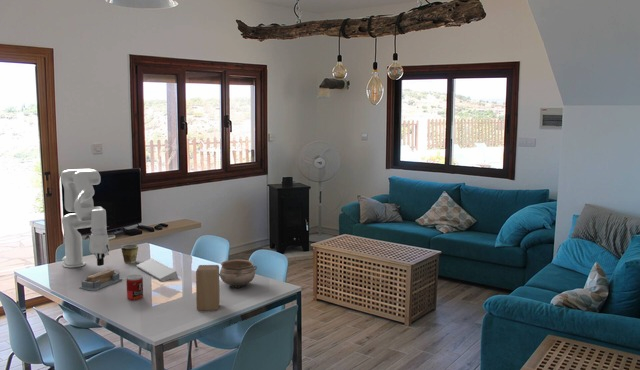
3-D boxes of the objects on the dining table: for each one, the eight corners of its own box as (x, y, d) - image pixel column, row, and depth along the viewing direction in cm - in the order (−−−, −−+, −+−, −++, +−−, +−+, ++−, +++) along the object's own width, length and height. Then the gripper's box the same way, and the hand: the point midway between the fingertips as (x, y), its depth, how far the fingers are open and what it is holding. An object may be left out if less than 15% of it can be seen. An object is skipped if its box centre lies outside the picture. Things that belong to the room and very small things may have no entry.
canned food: (134, 301, 276) (133, 280, 275) (123, 298, 280) (122, 277, 279) (146, 297, 282) (146, 276, 281) (135, 294, 287) (135, 273, 285)
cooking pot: (247, 277, 319) (247, 256, 317) (266, 285, 305) (266, 263, 303) (208, 285, 303) (208, 263, 301) (226, 294, 288) (226, 271, 287)
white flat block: (162, 286, 310) (178, 278, 316) (159, 278, 309) (176, 271, 314) (138, 272, 336) (153, 265, 342) (136, 265, 335) (151, 258, 340)
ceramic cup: (141, 262, 347) (141, 246, 346) (126, 265, 340) (126, 249, 339) (131, 258, 356) (130, 242, 355) (116, 261, 349) (115, 245, 348)
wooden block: (199, 304, 274) (198, 264, 271) (219, 303, 274) (219, 264, 272) (196, 311, 264) (195, 270, 261) (217, 311, 265) (217, 270, 262)
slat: (87, 286, 297) (86, 276, 296) (108, 277, 311) (108, 269, 311) (93, 286, 295) (92, 277, 294) (114, 278, 310) (114, 270, 309)
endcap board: (79, 288, 295) (78, 281, 295) (107, 277, 315) (107, 270, 314) (93, 290, 292) (93, 283, 291) (122, 279, 311) (121, 273, 311)
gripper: (83, 231, 299) (84, 265, 301) (105, 234, 293) (106, 268, 295) (93, 229, 306) (94, 262, 308) (115, 231, 300) (116, 265, 302)
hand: (100, 265), depth 302 cm, fingers closed
